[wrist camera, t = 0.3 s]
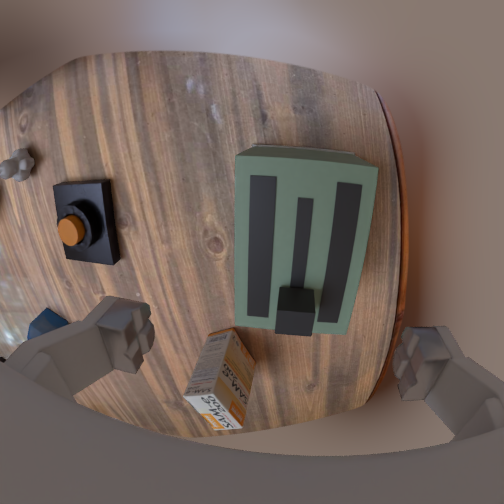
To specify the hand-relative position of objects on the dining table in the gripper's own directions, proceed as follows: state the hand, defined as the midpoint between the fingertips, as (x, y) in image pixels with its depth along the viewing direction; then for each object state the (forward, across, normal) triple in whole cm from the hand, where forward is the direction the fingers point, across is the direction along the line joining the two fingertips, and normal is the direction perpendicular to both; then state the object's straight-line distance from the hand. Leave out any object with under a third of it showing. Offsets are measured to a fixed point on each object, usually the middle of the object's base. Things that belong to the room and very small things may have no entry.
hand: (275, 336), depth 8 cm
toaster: (+26, -1, +4) cm, 26 cm away
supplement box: (+27, +7, +26) cm, 38 cm away
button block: (+26, +29, +6) cm, 39 cm away
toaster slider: (+15, -1, +8) cm, 17 cm away
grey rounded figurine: (+26, +42, -4) cm, 49 cm away
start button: (+23, +29, +6) cm, 37 cm away
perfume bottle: (+27, +46, +30) cm, 61 cm away
